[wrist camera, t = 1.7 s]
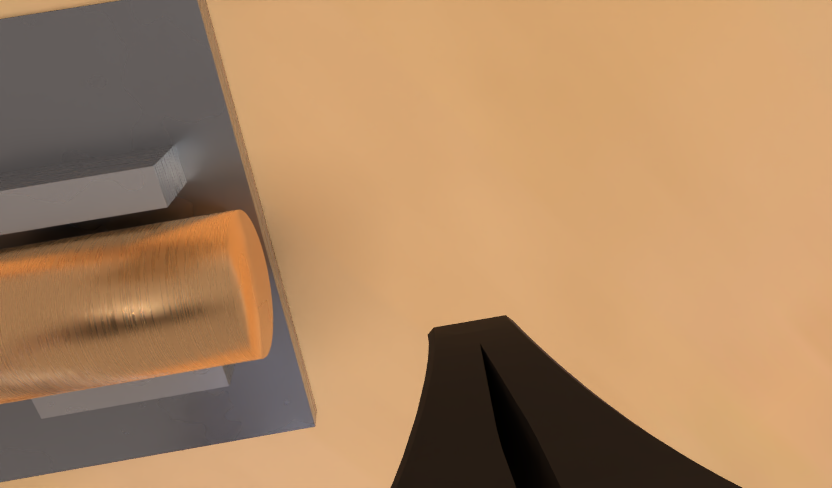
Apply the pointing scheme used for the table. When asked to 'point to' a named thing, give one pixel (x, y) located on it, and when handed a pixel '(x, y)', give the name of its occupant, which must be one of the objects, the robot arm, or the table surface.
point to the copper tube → (132, 305)
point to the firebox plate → (132, 216)
